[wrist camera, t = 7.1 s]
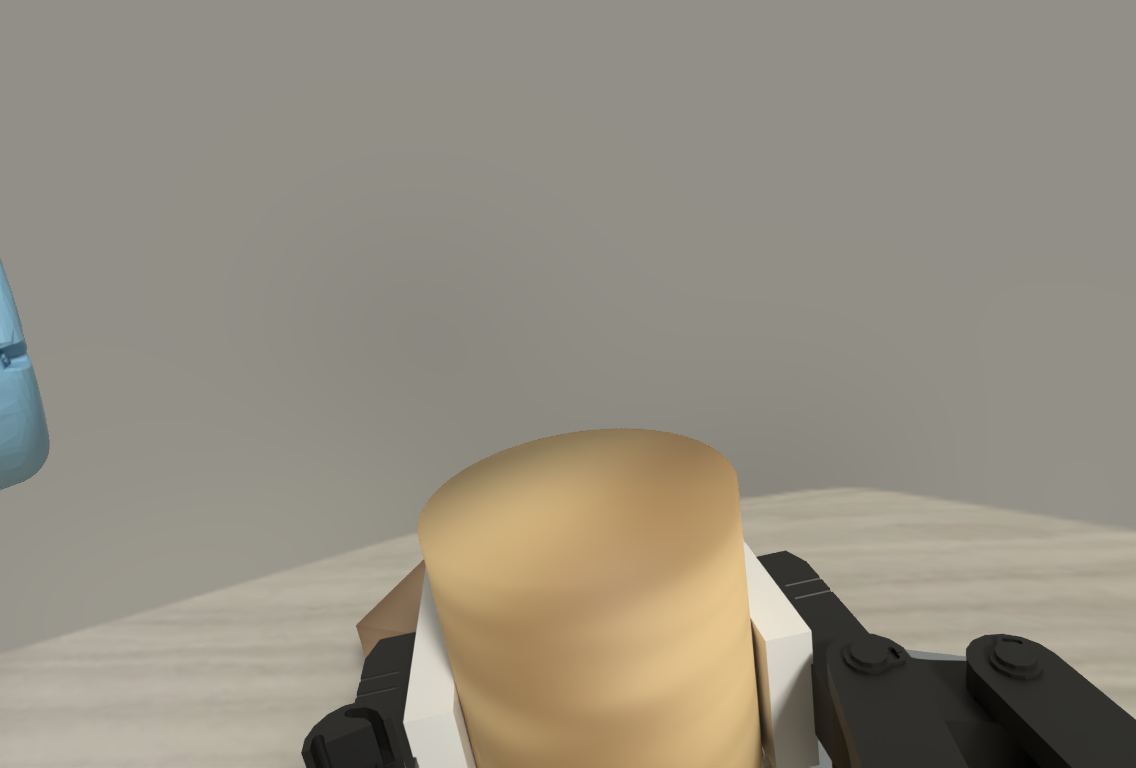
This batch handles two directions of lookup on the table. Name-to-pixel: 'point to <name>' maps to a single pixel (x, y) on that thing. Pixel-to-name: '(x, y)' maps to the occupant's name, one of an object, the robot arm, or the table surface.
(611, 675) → the roller
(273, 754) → the table surface
